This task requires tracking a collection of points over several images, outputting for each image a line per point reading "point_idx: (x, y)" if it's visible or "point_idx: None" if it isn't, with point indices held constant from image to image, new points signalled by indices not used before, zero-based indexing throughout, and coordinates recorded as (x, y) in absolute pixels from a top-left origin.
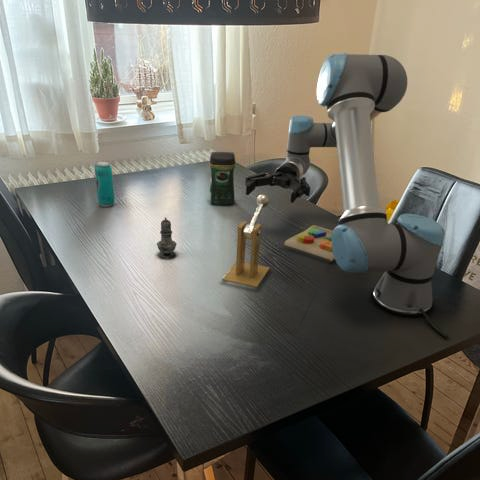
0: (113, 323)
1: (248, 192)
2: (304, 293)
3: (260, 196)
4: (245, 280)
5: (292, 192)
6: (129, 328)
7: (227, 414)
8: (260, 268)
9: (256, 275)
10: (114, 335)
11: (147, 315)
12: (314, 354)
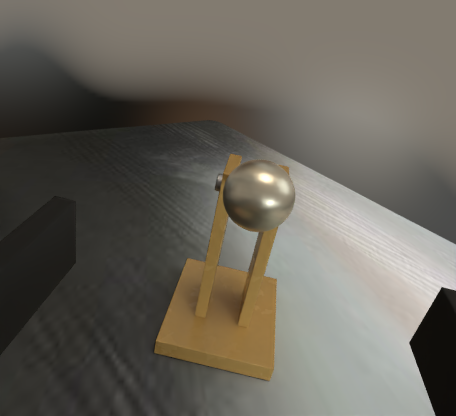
0: (371, 206)
1: (419, 329)
2: None
3: (277, 165)
4: (219, 276)
5: (61, 212)
6: (345, 200)
7: (191, 131)
8: (187, 331)
9: (194, 296)
10: (351, 192)
11: (344, 216)
12: (88, 160)
